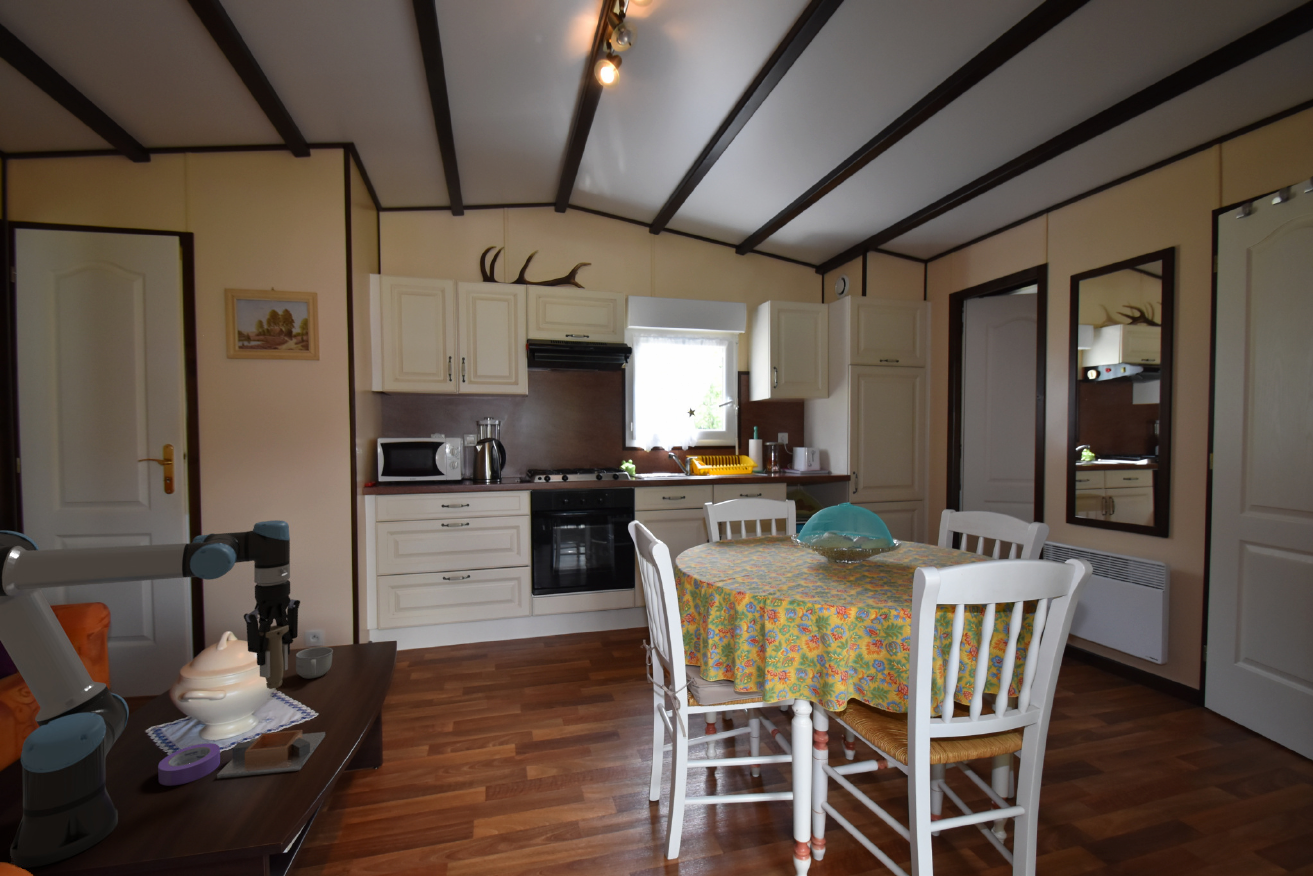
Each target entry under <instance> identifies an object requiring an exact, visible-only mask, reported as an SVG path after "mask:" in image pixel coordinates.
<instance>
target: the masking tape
mask: <svg viewBox="0 0 1313 876" xmlns="http://www.w3.org/2000/svg"><path fill="white" fill-rule="evenodd" d="M189 763H190V764H189ZM220 763H221V748H220V746H219V745H218V744H216V743H214V742H213V743H211V742H210V743H207V742H206V743H200V744H199V743H198V744H194V745H191V746H187V747H186V746H185V747H184V748H181V749H179V750H176V751H174V752H173V753H170V754H169V755H167V756H165V757H164V758H163V759H162V760H160V761H159V763H158V766H157V772H158V774H157V775H158V783H159V784H160V785H163V786H170V787H171V786H178V785H179V786H180V785H184V784H187V783H192V782H194V781H198V780H200V779H201V778H204V777H206V776H207V775H209V774H211V773H212V772H214V771H215V770H216V769H217V768H218V767H219V766H220Z"/></svg>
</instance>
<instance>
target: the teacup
mask: <svg viewBox="0 0 1313 876" xmlns="http://www.w3.org/2000/svg"><path fill="white" fill-rule="evenodd" d="M333 652H334V650H333V648H331V647H325V646H324V647H323V646H321V647H320V646H319V647H310V648H306V649H303V650H300V651H298V652H297V653H296V654H295V670H296V673H297V675H298V676H300V677H301V678H303V679H315V678H319V677H323V676H324V675H325V674H326V673H327V672H329V670H330V669H331V667H332V662H333Z"/></svg>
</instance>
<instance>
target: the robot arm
mask: <svg viewBox="0 0 1313 876" xmlns="http://www.w3.org/2000/svg"><path fill="white" fill-rule="evenodd" d="M290 538H291V537H290V526H289V523H288V522H287V521H285V520H280V519H279V520H278V519H277V520H267V521H266V520H265V521H258V522H256V523H255V524H254V525H253V529H252V530H248V531H247V530H246V531H240V532H224V533H209V534H201V535H196V536H195V537H194V538H193V539H192V542H191V543H190V542H189V543H187V542H186V543H166V544H164V543H163V544H162V543H161V544H143V545H140V544H139V545H123V546H103V547H102V546H101V547H83V548H82V547H79V548H77V547H76V548H60V549H40V548H39V546H38V544H37V542H35V540H33V539H32V538H31V537H30V536H28V535H26V534H24V533H21V532H18V531H12V530H0V642H1V644H2V645H3V647H4V649H5V651H6V652H7V653H8V655H9V657H10V659H11V661H12V662H13V664H14V665H15V667H16V669H17V671H18V672H19V674H20V675H21V677H22V678H23V680H24V682H25V684H26V685H27V687H28V689H29V691H30V692H31V694H32V696H33V697H34V699H35V700H36V702H37V704H38V706H39V707H40V709H39V710H38V713H37V714H36V715H35V717H34V720H35V722H36V724H37V725H38V727H37V728H36V729H34V730H33V731H32V732H31V733H30V734H28V736H27V737H26V738H25V740H24V742H23V743H22V744H23V745H22V749H21V750H22V751H21V754H20V763H21V777H22V778H21V779H22V780H21V781H22V782H21V783H22V819H21V821H20V823H19V826H18V828H17V831H16V834H15V836H14V838H13V841H12V843H11V845H10V849H9V857H10V856H11V858H13V861H14V862H10V864H11V863H14V864H15V865H17V866H19V867H18V868H20V867H22V868H21V869H23V868H24V869H26V868H36V867H42V866H47V865H51V864H54V863H57V862H60V861H64V860H65V859H68V858H71V857H73V856H76V855H77V854H80V853H82V852H84V851H86V850H88V849H90V848H92V847H93V846H95V845H97V844H98V843H100V842H101V841H103V840H104V839H106V837H107V836H110V835H111V833H112V832H113V831H114V830H115V828H116V827H117V825H118V822H119V820H118V819H119V816H118V815H119V814H118V809H117V807H116V806H115V805H114V803H113V801H112V799H111V796H110V795H109V793H108V790H107V788H106V787H107V786H106V785H107V784H106V758H107V755H108V753H109V752H110V750H111V749H112V747H113V746H114V745H115V743H116V741H117V740H118V739H119V737H120V736H122V733H123V732H124V730H125V728H126V726H127V724H128V718H129V714H130V713H129V705H128V703H127V701H126V700H125V699H124V698H123V697H121V696H120V695H118V694H116V693H113V692H111V690H110V689H109V687H108V686H107V684H106V683H105V682H99V681H94V680H93V679H92V677H91V676H90V674H89V672H88V670H87V668H86V666H85V665H84V663H83V661H82V660H81V657H80V656H79V654H78V653H77V651H76V650H75V647H74V646H73V644H72V642H71V640H70V639H69V637H68V635H67V634H66V633H67V632H65V630H64V628H63V627H62V625H61V623H60V621H59V619H58V618H57V615H56V614H55V612H54V611H53V608H52V607H51V606H50V604H49V602H48V601H47V598H46V597H45V594H44V592H42V590H41V589H46V588H47V589H48V588H49V589H50V588H61V587H62V588H63V587H73V586H86V585H88V586H89V585H100V584H113V583H127V582H128V583H129V582H140V581H141V582H143V581H153V580H155V581H156V580H168V579H169V580H170V579H180V578H181V579H182V578H199V579H203V580H215V579H219V578H221V577H223V576H224V575H226V574H227V573H229V572H230V571H231V570H232V569H233V568H234V566H235V564H236V563H244V562H253V563H254V565H253V566H254V569H253V570H254V573H253V574H254V580H253V581H254V583H255V585H254V600H255V602H256V603H255V606H254V609H253V610H251V612H249V613H245V614H244V615H243V619H244V621H245V624H246V639H247V651H248V652H249V653H254V654H256V664H257V666H259V677H260V678H265V679H266V678H269V677H270V651H267V645H268V640H269V638H266V633H267V632H270V628H271V626H272V624H273V623H274V620H275V624H276V625H277V626H282V627H284V626H287V625H288V626H289V630H288V631H287V632H286V633H285V634H283V635H282V651H283V663H284V667H283V668H284V669H283V671H287V670H288V669H289V658H288V657H289V655H290V653H291V644H293V642H294V639H297V637H298V631H299V629H298V628H299V627H298V626H299V608H300V604H301V600H300V599H294V598H293V599H292V598H291V597H290V596H289V595H290V594H291V581H290V580H289V579H290V578H291V563H290V562H291V561H290V560H291V559H290V556H291V555H290V554H291V552H290V551H291V543H290V542H291V539H290ZM259 632H261V633H264V635H263V636H260V634H259Z"/></svg>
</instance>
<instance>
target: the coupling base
mask: <svg viewBox="0 0 1313 876" xmlns="http://www.w3.org/2000/svg"><path fill="white" fill-rule="evenodd" d="M325 737H326V731H321V732H311V733H309V732H308V733H303V729H297V730H296V729H295V730H285V731H275V732H274V731H273V732H263V733H261V734H260V735H259V736H258V737H256V738H255V737H254V738H251V739H250V740H249V741H243V742H237V743H236V744H235V745H234V746H233V747H232V749H231V750H232V759H231V760H230V761H228V763H227V764H226V765H225V766H224V767H223V768H222V769H221V770H220V771H219V772H218V773H217V775H216V779H217V780H218V779H228V778H238V777H248V776H249V777H250V776H256V775H257V776H259V775H267V774H276V773H287V772H296V771H301V769H302V768H303V766H304V765H305V763H306V762H307V761H308V759H310V757H311V756H312V754H313V753H314V751H315V750H316V749H317V748H318V746H319V744H321V742H322V741H323V739H324V738H325Z"/></svg>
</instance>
